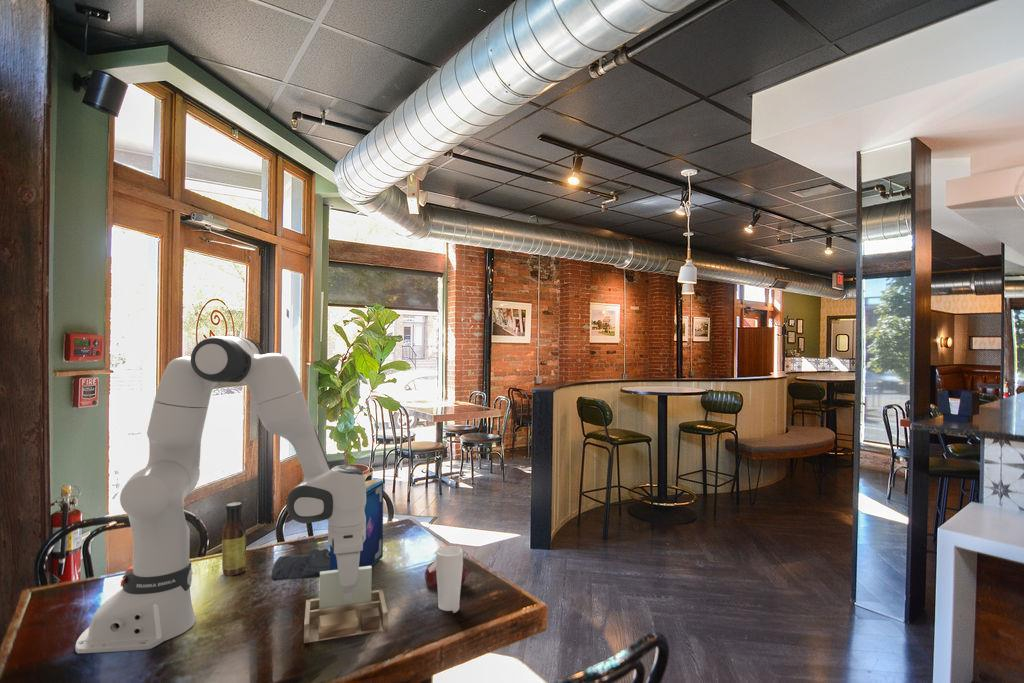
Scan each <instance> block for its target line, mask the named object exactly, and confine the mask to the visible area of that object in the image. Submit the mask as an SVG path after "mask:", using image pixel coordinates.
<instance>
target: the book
mask: <svg viewBox="0 0 1024 683" xmlns="http://www.w3.org/2000/svg"><path fill="white" fill-rule="evenodd" d="M365 483H366V505H365V509H364V511H365V516H366V539H365V541H364V543H363V550H362V551H360V561H359V567H364V566H371V567H372V568H373V567H374V566H375V565H377V563H379V561H380V560H381V559H382V558H383V557H384V554H383V553H384V546H383V545H384V480H382V479H381V480H379V481H378V480H375V479H370V480H367V479H366V478H365ZM329 551H330V570H338V567H337V559H336V554H334V551H333V548H332V546H331V545H330V544H329Z"/></svg>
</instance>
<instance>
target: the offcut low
mask: <svg viewBox="0 0 1024 683" xmlns="http://www.w3.org/2000/svg"><path fill="white" fill-rule="evenodd" d="M350 634H356V627H352V628H347V629H342V630H336V631H331V632H326V633H321V631H320V623H319V632H318V639H324V638H331V637H337V636H343V635H350Z"/></svg>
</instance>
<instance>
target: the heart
mask: <svg viewBox="0 0 1024 683" xmlns="http://www.w3.org/2000/svg"><path fill="white" fill-rule="evenodd" d="M424 572H425V573H424V580H425V585H426V586H427V587H428V588H431V589H432V590H435V589H436V590H438V589H437V575H436V559H435V560H433V561H431V563H429V564H428V566H427V567H426V569H425V571H424ZM468 577H469V569H468V568H467V566H466V565H465V563H464V562H463V570H462V580H461V586H463V585H464V584H465V582H466V581H468Z"/></svg>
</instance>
